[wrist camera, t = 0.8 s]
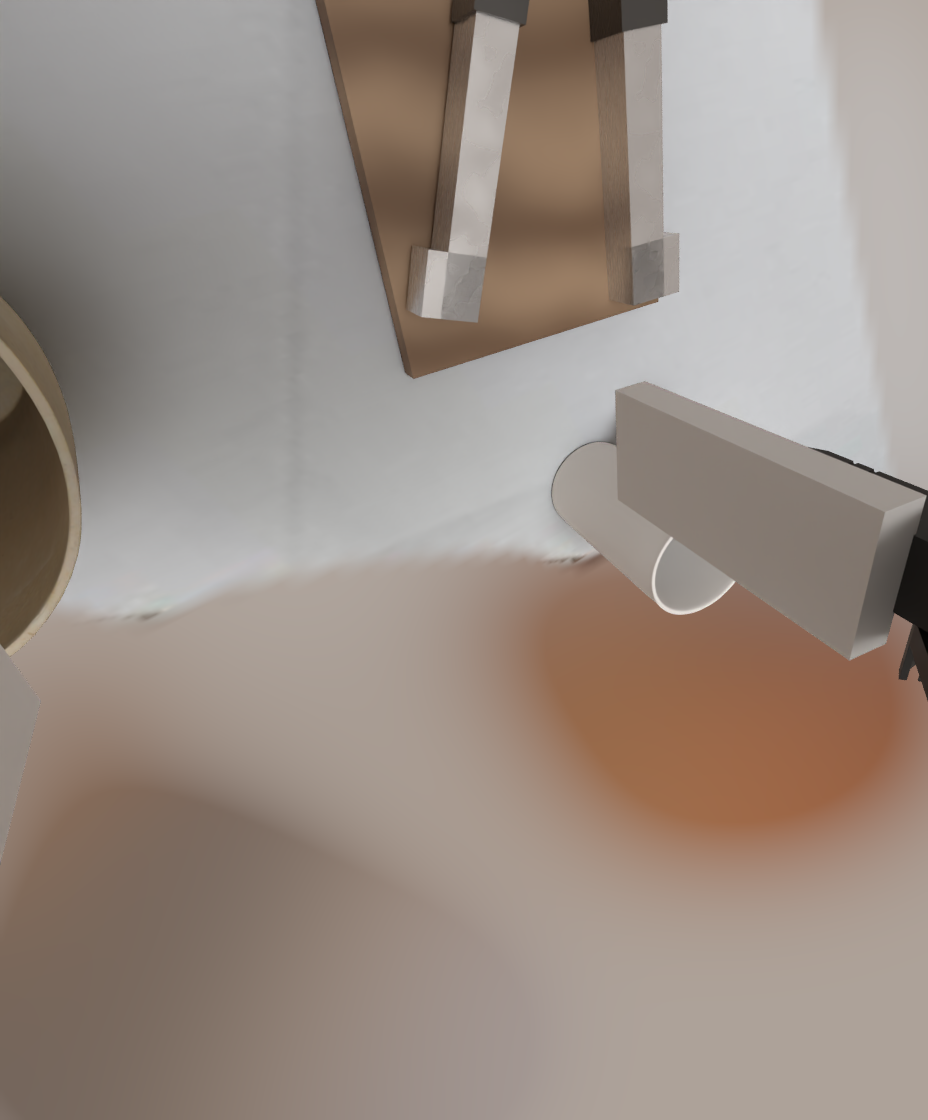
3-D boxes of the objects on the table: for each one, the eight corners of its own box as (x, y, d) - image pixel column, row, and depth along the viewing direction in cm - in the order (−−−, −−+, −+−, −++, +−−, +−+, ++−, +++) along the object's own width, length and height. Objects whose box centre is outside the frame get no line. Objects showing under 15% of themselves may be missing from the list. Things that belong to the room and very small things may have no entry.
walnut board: (206, -453, 21) (208, -492, 20) (622, -460, 25) (645, -493, 23) (405, 372, 37) (413, 378, 36) (643, 298, 40) (658, 301, 39)
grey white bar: (501, -444, 23) (537, -510, 21) (637, -447, 24) (683, -510, 22) (570, 311, 37) (594, 319, 35) (652, 286, 38) (681, 292, 36)
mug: (607, 532, 48) (716, 619, 39) (533, 519, 45) (632, 610, 35) (664, 403, 45) (801, 463, 35) (588, 379, 41) (716, 437, 32)
